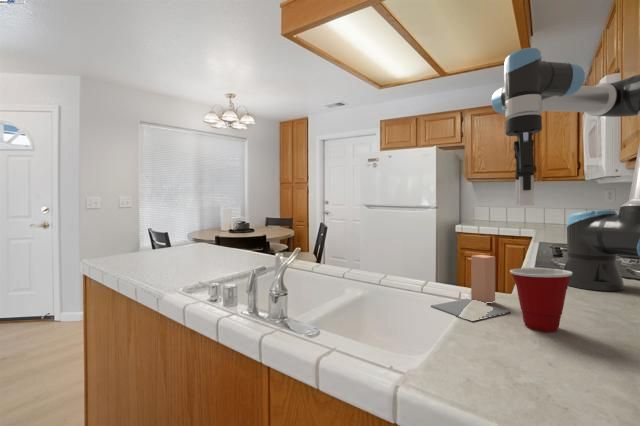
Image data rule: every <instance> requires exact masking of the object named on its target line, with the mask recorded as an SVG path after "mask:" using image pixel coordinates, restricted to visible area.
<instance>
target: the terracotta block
mask: <svg viewBox="0 0 640 426" xmlns="http://www.w3.org/2000/svg"><path fill="white" fill-rule="evenodd" d="M470 256H471V258H470V259H471V260H470V261H471V264H470V267H471V269H470V270H471V271H470V272H471V273H470V274H471V278H470V279H471V281H470V282H471V283H470V285H471V287H470V289H471V290H470V291H471V292H470V294H471V295H470V298H471V299H470V300H477V301H481V302H484V303H486V302H493V301H495V302H496V256H494V255H487V254H486V255H485V254H477V255H470Z"/></svg>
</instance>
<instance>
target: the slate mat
mask: <svg viewBox="0 0 640 426" xmlns="http://www.w3.org/2000/svg"><path fill="white" fill-rule="evenodd" d="M471 301H472V300H471V299H469V298H464V299H459V300H458V299H457V300H454V301H453V300H451V301H447V302H442V303H438V304H432V305H430V308H432V309H434V310H437V311H439V312H443V313H445V314H448V315H451V316H453V317H457V316H459V315H460V314H461V312H462V311H463V309H464V308H465V307H466V306H467V305H468V304H469V303H470V302H471ZM508 312H510V313H511V311H510V310H507V309H503V308H501V307H497V306H494V307H493V310H492V311H490V312H487V313H488V314H486V316H482V318H484V317H489V316H494V315H499V314H503V313H508ZM508 314H509V313H508ZM457 318H458V317H457ZM479 319H480V318H479Z"/></svg>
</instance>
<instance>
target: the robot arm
mask: <svg viewBox="0 0 640 426" xmlns="http://www.w3.org/2000/svg"><path fill="white" fill-rule="evenodd" d="M541 54H542V53H541V50H539V49H538V48H537V47H526V48H520V49H518V50H515V51H513V52H512V53H509V55H507V57H506V58H505V60H504V65H503V66H504V69H503V78H504V79H503V81H504V82H503V83H504V85H503V86H502V87H500V88H499V89H497V90H495V91H494V93H493V94H492V96H491V107H492V108H493V110H494V111H495V112H496V113H498V114H502V115H504V114H505V115H504V116H505V117H504V118H505V119H506V120H505V122H504V123H505V124H504V125H505V127H504V129H505V131H504V132H505V134H504V135H506V136H507V137H517V139H516V140H515V141H513V142H514V143H513V151H514V160H515V174H514V177H515V205H519V206H535V192H534V191H535V184H534V183H535V181H534V178H535V177H534V174H535V170H536V168H535V160H534V144H535V140H534V139H533V136H534V134H537V133H540V132H541V131H542V130H543V125H542V124H543V123H542V121H543V117H542V116H541V115H540V114H542V113H543V112H565V113H567V112H568V113H586V114H587V115H589V116H592V117H609V118H612V117H613V118H615V117H616V118H617V117H618V118H619V117H624V118H626V117H635V116H638V117H639V118H640V73H639V74H635V75H632V76H630V77H627V78H624V79H621V80H617V81H615V82H610V83H607V82H603V83H598V84H595V85H594V86H593V85H584V82H585V79H586V78H585V76H586V74H585V73H586V72H585V69H584V68H583V67H582V66H581V65H578V64H574V63H570V62H559V61H558V62H556V61H546V60H542V59H543V57H542V55H541ZM632 176H633V177H632V181H631V186H630V191H629V192H630V193H629V198H628V201H627V202H625V203H623V204H622V205H620V207H619V211H618V213H617V212H616V210H614V209H600V210H599V209H598V210H590V211H588V210H587V211H580V212H579V211H578V212H573V213H571V214H569V216H568V217H567V224H566V238H567V239H566V241H567V242H566V244H567V245H566V249H567V252H566V253H567V256H566V257H567V258H566V261H565V263H564V265H563V266H564V267H563V268H562V270H567V271H571V272H572V275H571V276H570V279H569V283H568V286H569V287H573V288H578V289H585V290H592V291H601V292H602V291H603V292H617V291H619V292H620V291H622V290H624V286H625V285H624V280H623V276H622V275H621V272H620V269H619V267H618V265H617V262H616V260H617V258H616V257H617V256H623V257H631V258H638V259H640V143H639V144H638V149H637V154H636V160H635V167H634V170H633V175H632Z"/></svg>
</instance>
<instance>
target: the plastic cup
mask: <svg viewBox="0 0 640 426" xmlns="http://www.w3.org/2000/svg"><path fill="white" fill-rule="evenodd" d="M509 272H510V273H509V274H511V275H512V277H513V281H514V283H515V285H516V286H515V287H516V290H517V296H518V301H519V307H520V310H521V314H522V320H523V323H524V326H525V327H527V329H528V328H529V329H530V330H534V331H538V332H544V333H554V332H557V331H558V329H559V328H560V322H561V317H562V315H563V309H564V305H565V299H566V295H567V289H568V288H569V287H568V283H569V279H570V276H571V275H572V272H571V271H567V270H563V269H560V268H559V269H558V268H544V267H541V268H539V267H537V268H536V267H534V268H532V267H531V268H529V267H527V268H523V267H522V268H513V269H509Z"/></svg>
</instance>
